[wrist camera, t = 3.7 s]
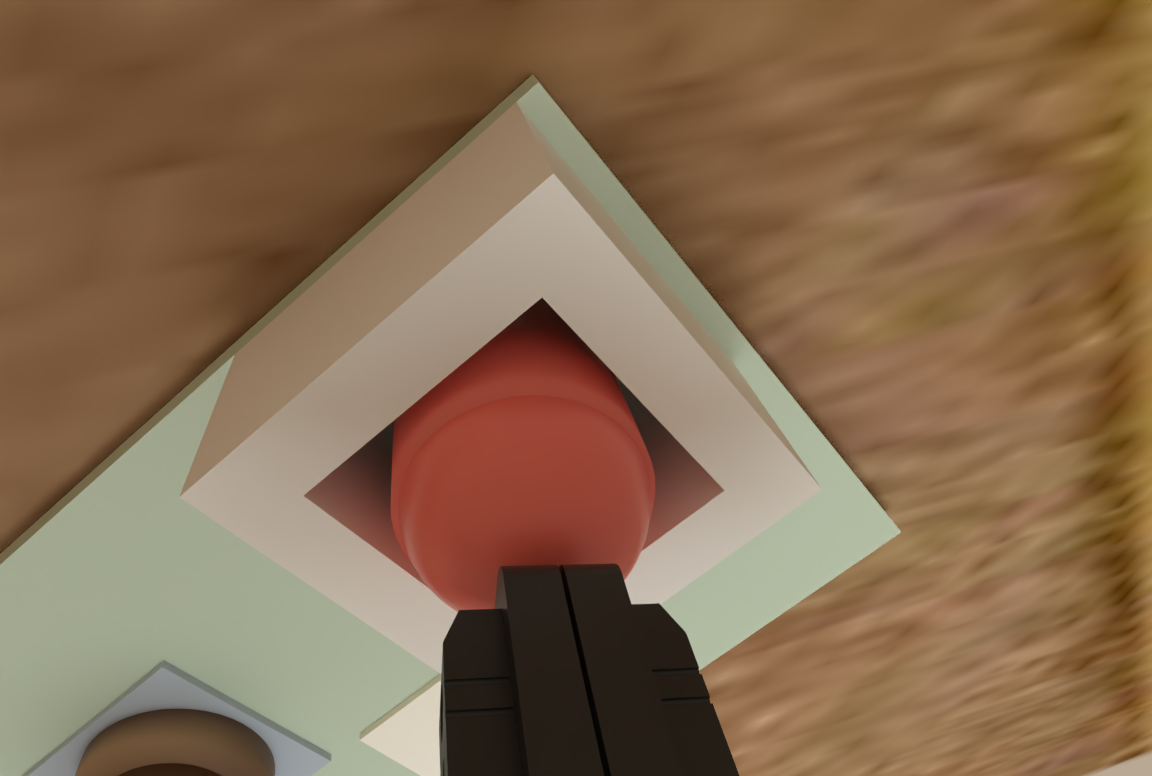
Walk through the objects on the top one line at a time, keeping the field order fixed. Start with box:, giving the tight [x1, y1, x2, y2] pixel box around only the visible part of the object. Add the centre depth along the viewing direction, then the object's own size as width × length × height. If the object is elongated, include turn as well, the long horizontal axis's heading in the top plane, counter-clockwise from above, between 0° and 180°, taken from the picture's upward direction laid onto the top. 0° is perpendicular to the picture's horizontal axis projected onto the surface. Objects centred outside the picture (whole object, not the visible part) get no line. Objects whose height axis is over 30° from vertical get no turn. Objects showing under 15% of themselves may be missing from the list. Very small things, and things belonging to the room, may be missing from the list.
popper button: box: [390, 298, 656, 612], centre depth 14 cm, size 4×4×5 cm
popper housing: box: [179, 102, 822, 674], centre depth 15 cm, size 7×7×4 cm
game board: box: [0, 74, 901, 776], centre depth 20 cm, size 14×20×1 cm
